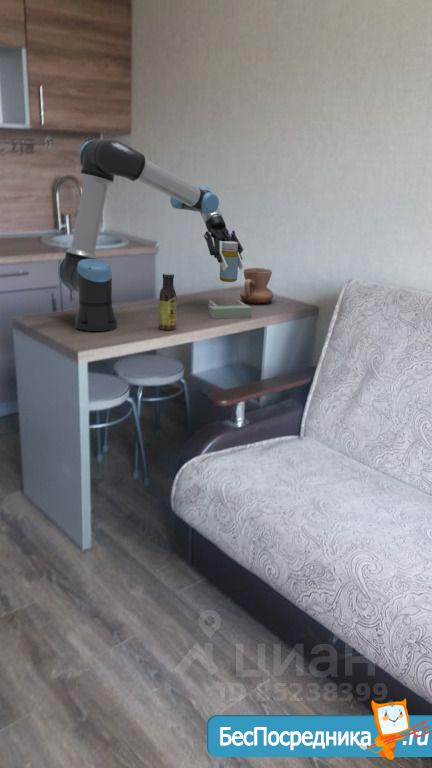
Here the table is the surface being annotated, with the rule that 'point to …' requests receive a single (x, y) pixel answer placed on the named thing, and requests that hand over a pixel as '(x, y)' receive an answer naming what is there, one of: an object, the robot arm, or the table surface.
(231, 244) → the bottle
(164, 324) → the sauce bottle
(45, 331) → the table surface
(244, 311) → the green-backed grey tray
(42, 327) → the table surface
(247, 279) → the ceramic jug
